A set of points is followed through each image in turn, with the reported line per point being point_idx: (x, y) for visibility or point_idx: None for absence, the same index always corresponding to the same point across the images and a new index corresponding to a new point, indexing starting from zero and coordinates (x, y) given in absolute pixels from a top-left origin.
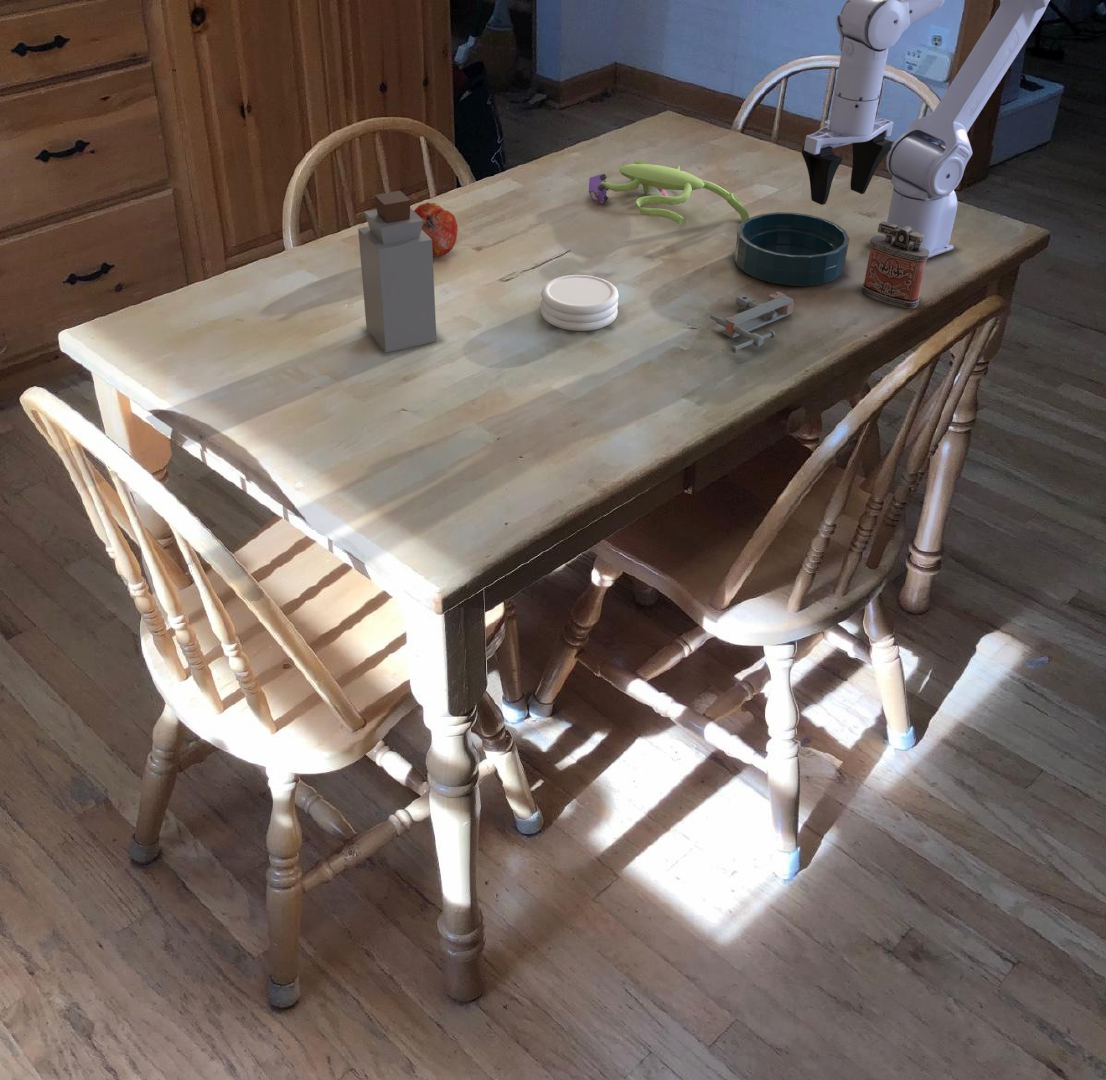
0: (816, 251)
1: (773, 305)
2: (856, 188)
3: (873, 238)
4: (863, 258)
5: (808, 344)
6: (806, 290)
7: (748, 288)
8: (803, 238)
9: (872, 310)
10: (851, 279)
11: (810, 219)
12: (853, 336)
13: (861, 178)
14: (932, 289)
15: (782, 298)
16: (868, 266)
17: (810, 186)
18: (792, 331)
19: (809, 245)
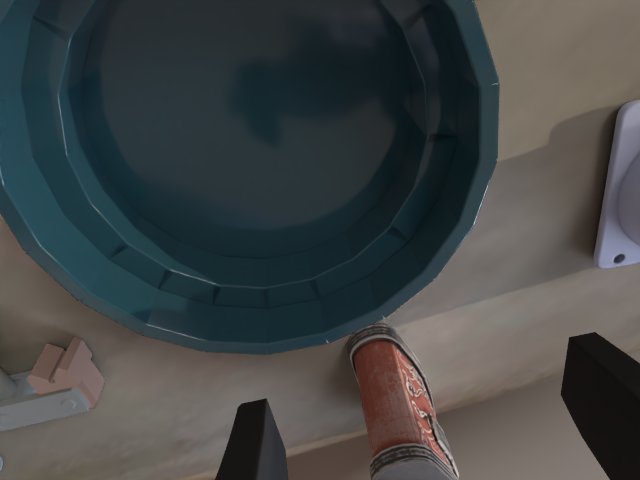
0: (406, 83)
1: (19, 421)
2: (575, 381)
3: (390, 472)
4: (519, 176)
5: (89, 467)
6: None
7: None
8: (394, 22)
9: (311, 404)
10: None
11: (453, 21)
12: (202, 465)
13: (616, 453)
14: (516, 370)
15: (60, 400)
16: (363, 402)
17: (216, 476)
18: (74, 427)
19: (402, 48)
